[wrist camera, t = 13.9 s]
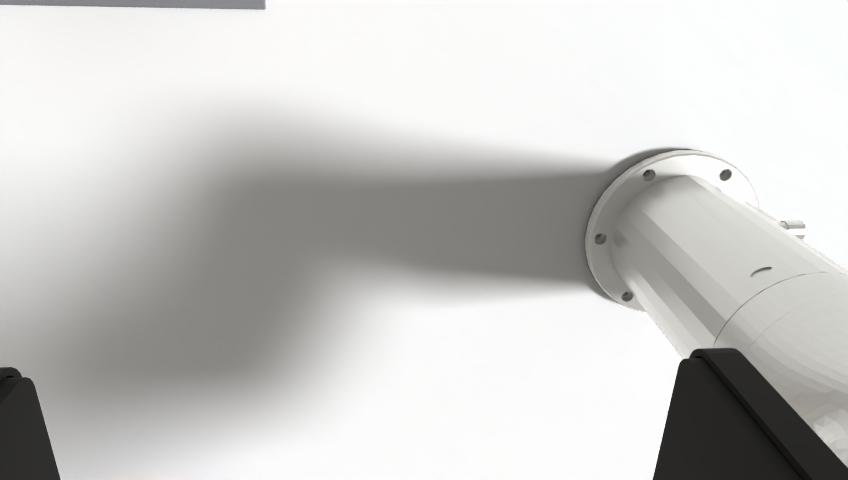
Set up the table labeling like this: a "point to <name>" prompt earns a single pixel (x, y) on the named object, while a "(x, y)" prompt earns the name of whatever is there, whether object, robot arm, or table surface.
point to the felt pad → (147, 3)
